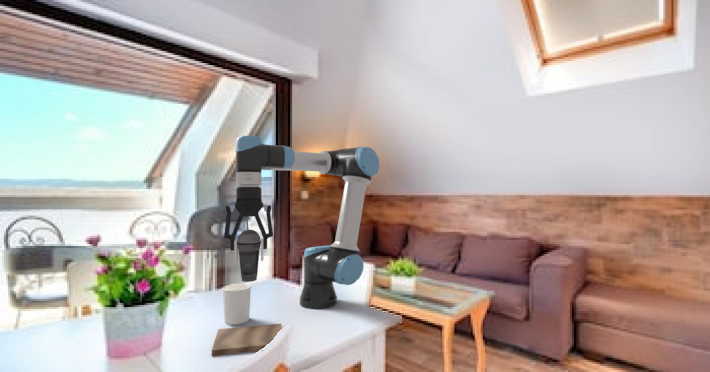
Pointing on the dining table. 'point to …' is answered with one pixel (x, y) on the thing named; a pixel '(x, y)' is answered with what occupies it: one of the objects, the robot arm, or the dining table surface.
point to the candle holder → (236, 303)
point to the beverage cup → (249, 254)
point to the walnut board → (244, 339)
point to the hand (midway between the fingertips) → (249, 260)
